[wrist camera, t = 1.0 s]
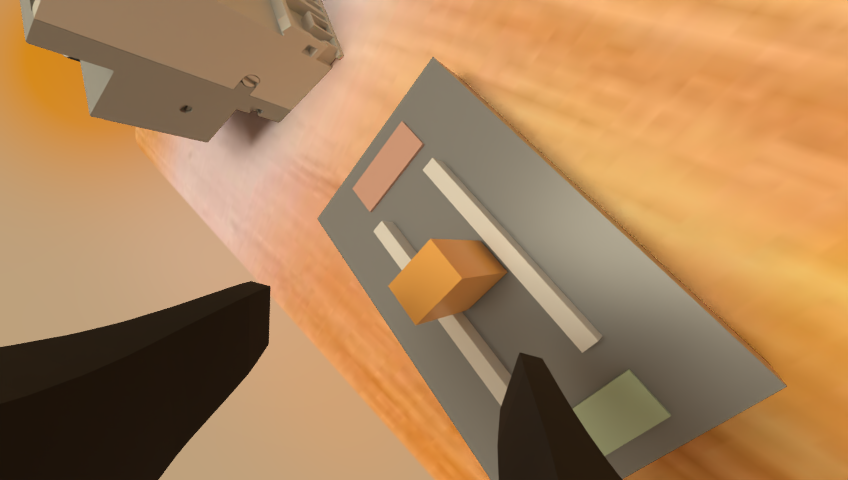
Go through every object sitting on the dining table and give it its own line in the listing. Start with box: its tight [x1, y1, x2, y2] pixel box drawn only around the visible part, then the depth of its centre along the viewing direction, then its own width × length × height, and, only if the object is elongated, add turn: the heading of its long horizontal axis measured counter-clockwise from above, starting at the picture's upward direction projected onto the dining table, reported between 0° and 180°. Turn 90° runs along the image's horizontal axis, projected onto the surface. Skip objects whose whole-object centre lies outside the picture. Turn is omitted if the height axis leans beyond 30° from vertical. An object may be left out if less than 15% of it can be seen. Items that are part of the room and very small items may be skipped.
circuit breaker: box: [20, 0, 344, 142], centre depth 26 cm, size 8×14×15 cm, turn 116°
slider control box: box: [318, 57, 787, 480], centre depth 20 cm, size 20×12×4 cm, turn 43°
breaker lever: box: [388, 239, 507, 325], centre depth 17 cm, size 2×3×4 cm
